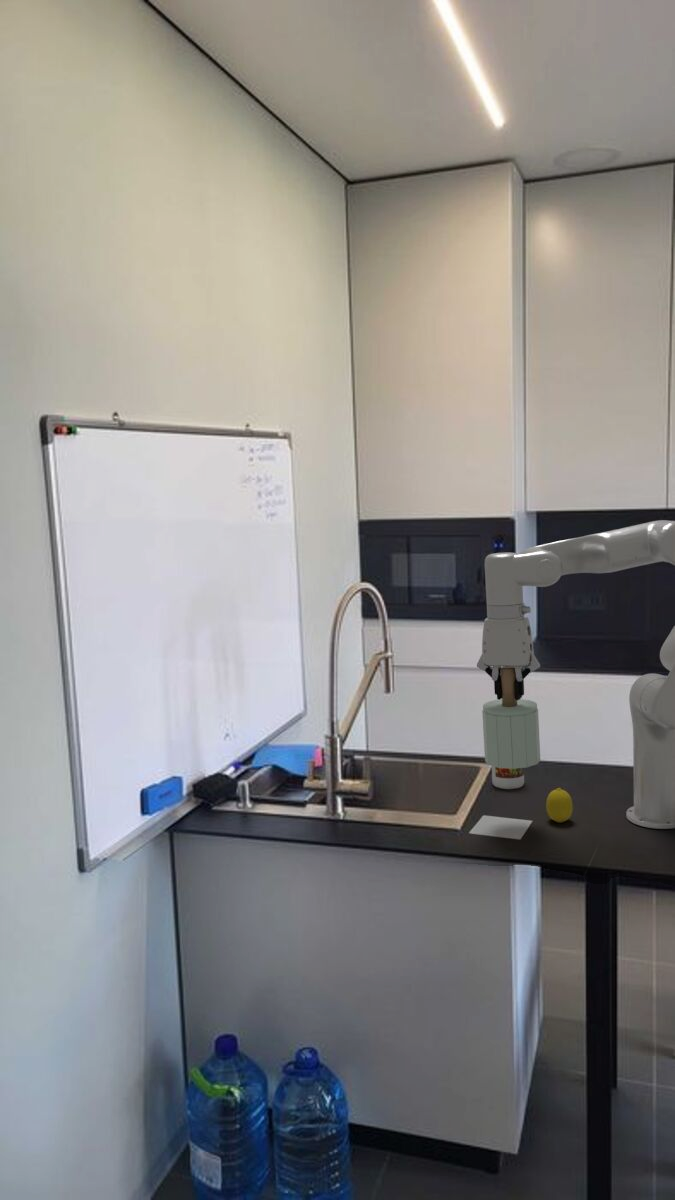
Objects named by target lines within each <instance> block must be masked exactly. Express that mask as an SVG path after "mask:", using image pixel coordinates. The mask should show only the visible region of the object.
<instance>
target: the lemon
mask: <svg viewBox="0 0 675 1200" xmlns="http://www.w3.org/2000/svg"><path fill="white" fill-rule="evenodd" d="M573 807H574V806H573V799H572V797H571V795H570V793H568V792H567V791H566V790H564V789H562V788H561V787H557V788H556V789H553V790H551V791H550V792H549V794H548V795H547V798H546V804H545V809H546V812H547V815H548V817H549V818H550V819H551V820H552V821H554V822H557V823H564V822H566V821H568V820H569V819H570V818H571V816H572V814H573V810H574V809H573Z"/></svg>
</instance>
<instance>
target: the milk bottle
mask: <svg viewBox="0 0 675 1200" xmlns="http://www.w3.org/2000/svg"><path fill="white" fill-rule="evenodd" d="M491 780H492V781H491V783H492V785H493V786H494V787H496V788H498V789H502V790H514V789H520V788H521V787H523V786H524V785H525V768H516V769H508V768H498V767H494V766H491Z"/></svg>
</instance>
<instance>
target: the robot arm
mask: <svg viewBox="0 0 675 1200" xmlns="http://www.w3.org/2000/svg"><path fill="white" fill-rule="evenodd" d="M661 562H664V563H670V564H671V565H673V566H675V520H665V519H663V520H662V519H660V520H653V521H649V522H645V523H640V524H635V525H630V526H626V527H622V528H619V529H618V528H617V529H612V530H608V531H603V532H598V533H593V534H588V535H587V534H586V535H584V536H579V537H574V538H568V539H564V540H558V541H553V542H549V543H543V544H540V545H535V546H531V547H527V548H526V549H523V550H522V551H521V552H520V553H519V554H518V553H516V552H509V551H508V552H506V551H505V552H496V553H490V554H488V555H487V556H485V558H484V575H485V579H484V580H485V593H486V594H485V595H486V596H485V597H486V616H487V617H486V618H485V619H484V622H483V626H482V627H483V630H482V641H481V642H482V643H481V644H482V645H481V654H480V655H481V656H480V657H479V659H478V662H477V663H476V667H477V668H478V669H480V670H482V671H484V672H485V673H486V674H487V675H488V676H489V678H491V680H492V681H493V684H494V685H493V686H494V688H493V689H494V695H496V700H500V699H502V692H501V673H500V668H501V667H515V672H516V681H515V682H514V685H515V699H516V700H520V699H523V696H524V695H525V684H524V683H525V681H524V679H525V678H527V676H528V675H529V674H531V673H532V672H534V671H536V670H538V669H539V668H540V667H541V664H540V662H539V660H538V659H537V657H536V655H535V652H534V644H533V643H534V642H533V635H532V634H533V633H532V629H531V625H530V620H529V617H527V616H525V615H527V614H528V613H529V614H530V613H532V612H531V611H532V608H531V606H529V605H528V606H527V605H526V604H525V602H524V590H523V588H524V587H537V588H538V587H539V588H540V587H541V588H545V587H546V588H547V587H549V586H552V585H554V584H555V583H557V582H558V581H559V580H560V578H561V576H565V575H571V574H585V573H586V574H607V573H615V572H618V571H623V570H627V569H632V568H636V567H640V566H647V565H650V564H655V563H661ZM659 660H660V662H661V664H662V666H663V667H664V668H665V669H666V670H668V671H669V673H668V675H667V676H665V675H662V674H660V673H646V674H643V675H640V676H639V677H638V678H637V679H635V681H633V684H632V685H631V688H630V690H629V701H628V702H629V708H630V709H629V710H630V717H631V723H632V724H631V725H632V739H633V740H632V745H633V747H632V750H633V751H632V753H633V754H632V755H633V756H632V757H633V761H632V763H633V764H632V765H633V806H631V807H629V808H628V809H627V810H626V813H625V814H626V818H627V820H628V821H629V822H631V823H633V824H634V825H637V826H641V827H644V828H649V829H656V830H657V829H659V830H668V829H669V830H670V829H675V625H674V626H673V627H672V629H671V631H670V633H669V634H668V636H667V637H666V638H665V641H664V642H663V644H662V646H661V648H660V651H659Z"/></svg>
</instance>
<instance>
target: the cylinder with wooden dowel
mask: <svg viewBox="0 0 675 1200" xmlns="http://www.w3.org/2000/svg"><path fill="white" fill-rule="evenodd" d="M500 673H501V692H502V698H501V699H500V700H498V699H496V700H490V701H487V702H485V703H484V704H482V710H481V711H482V712H481V713H482V727H483V728H482V729H483V748H484V761H485V763H487V765H488V766H491V767H492V766H494V767H498V768H508V769H516V768H524V769H526V768H530V767H532V766H533V767H534V766H536V765H538V764H539V762H540V761H541V746H540V745H541V744H540V743H541V742H540V723H539V722H540V721H539V708H538V704H537V702H535V701H533V700H530V699H524V698H521V699H520V700H516V699H515V685H514V682H515V681H516V672H515V667H502V666H501V668H500Z"/></svg>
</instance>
